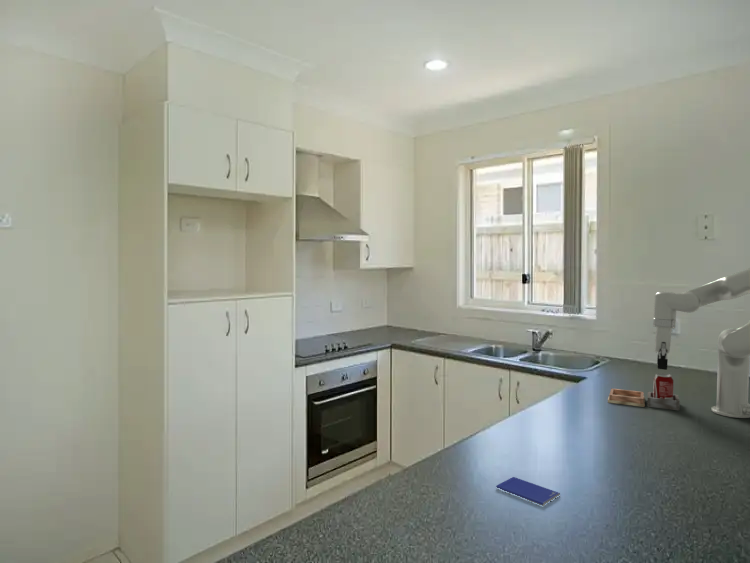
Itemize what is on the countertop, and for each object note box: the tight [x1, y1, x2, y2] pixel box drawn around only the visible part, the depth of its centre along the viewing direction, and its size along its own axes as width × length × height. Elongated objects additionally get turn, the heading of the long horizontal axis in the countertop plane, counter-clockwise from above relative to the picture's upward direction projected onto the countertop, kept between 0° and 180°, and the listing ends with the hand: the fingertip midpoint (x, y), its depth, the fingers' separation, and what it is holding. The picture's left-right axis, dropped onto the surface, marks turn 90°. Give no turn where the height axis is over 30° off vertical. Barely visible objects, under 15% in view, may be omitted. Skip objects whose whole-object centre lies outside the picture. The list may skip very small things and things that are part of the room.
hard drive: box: [495, 476, 561, 507], centre depth 122 cm, size 2×8×12 cm
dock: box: [607, 388, 681, 411], centre depth 202 cm, size 25×13×4 cm, turn 62°
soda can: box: [652, 372, 674, 400], centre depth 199 cm, size 7×7×12 cm
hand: (662, 366), depth 199 cm, fingers open, 9 cm apart
